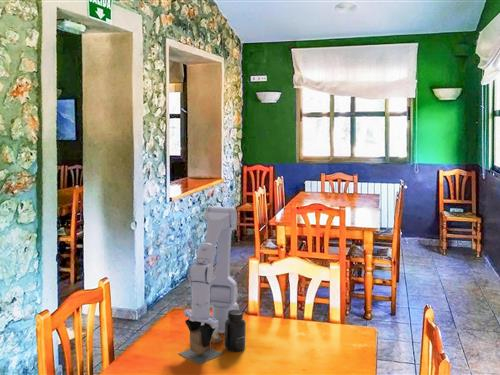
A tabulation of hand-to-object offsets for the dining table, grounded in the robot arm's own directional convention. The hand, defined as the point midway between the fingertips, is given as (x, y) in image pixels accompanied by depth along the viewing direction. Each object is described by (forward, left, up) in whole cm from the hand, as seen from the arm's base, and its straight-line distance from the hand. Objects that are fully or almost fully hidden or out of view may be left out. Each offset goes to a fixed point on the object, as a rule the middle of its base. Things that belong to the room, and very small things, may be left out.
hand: (200, 343), depth 161 cm
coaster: (0, 0, -3) cm, 3 cm away
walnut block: (0, 0, -2) cm, 2 cm away
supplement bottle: (-11, +4, -4) cm, 12 cm away
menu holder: (-10, -8, -3) cm, 13 cm away
